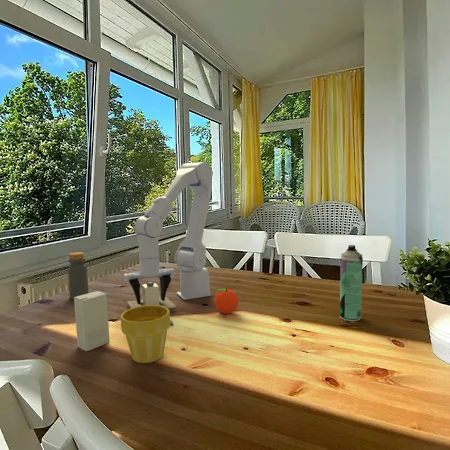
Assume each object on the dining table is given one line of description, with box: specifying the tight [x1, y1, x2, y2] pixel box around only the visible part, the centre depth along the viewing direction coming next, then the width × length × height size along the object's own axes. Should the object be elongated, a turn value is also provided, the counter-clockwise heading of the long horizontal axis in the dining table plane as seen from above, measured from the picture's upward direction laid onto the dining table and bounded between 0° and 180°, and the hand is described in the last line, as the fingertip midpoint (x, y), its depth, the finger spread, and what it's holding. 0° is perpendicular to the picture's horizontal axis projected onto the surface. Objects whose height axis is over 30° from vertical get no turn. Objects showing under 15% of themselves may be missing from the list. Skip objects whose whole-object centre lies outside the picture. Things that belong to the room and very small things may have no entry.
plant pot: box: [120, 305, 171, 364], centre depth 76 cm, size 10×10×10 cm
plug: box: [141, 281, 160, 306], centre depth 107 cm, size 4×4×8 cm
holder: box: [126, 295, 177, 313], centre depth 107 cm, size 12×12×1 cm
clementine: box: [214, 288, 240, 315], centre depth 102 cm, size 8×7×7 cm
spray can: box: [339, 244, 364, 321], centre depth 95 cm, size 6×6×20 cm
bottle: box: [67, 251, 89, 301], centre depth 118 cm, size 6×6×15 cm
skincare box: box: [73, 290, 110, 352], centre depth 82 cm, size 6×4×12 cm
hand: (150, 301), depth 107 cm, fingers open, 7 cm apart
